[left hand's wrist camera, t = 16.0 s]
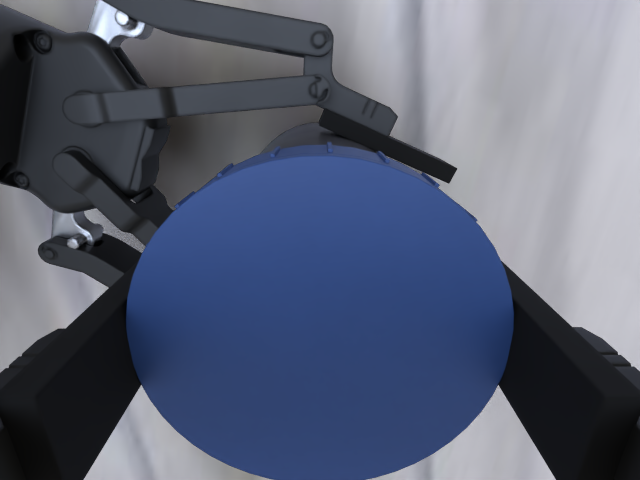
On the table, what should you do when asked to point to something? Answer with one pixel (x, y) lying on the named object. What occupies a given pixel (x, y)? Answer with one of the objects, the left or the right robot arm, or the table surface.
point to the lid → (319, 316)
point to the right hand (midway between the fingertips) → (397, 256)
